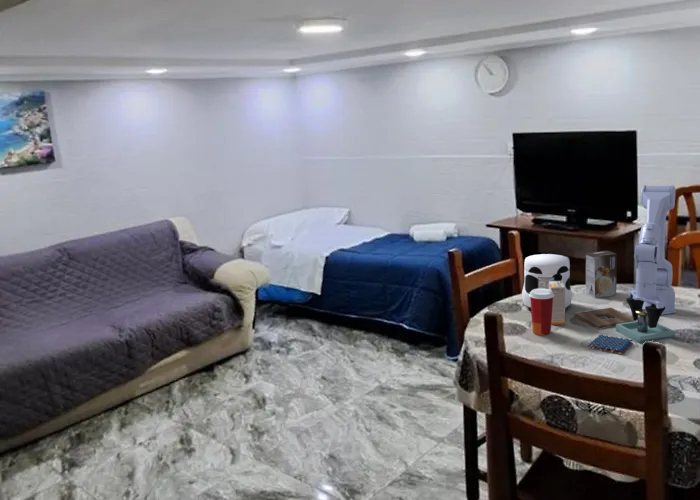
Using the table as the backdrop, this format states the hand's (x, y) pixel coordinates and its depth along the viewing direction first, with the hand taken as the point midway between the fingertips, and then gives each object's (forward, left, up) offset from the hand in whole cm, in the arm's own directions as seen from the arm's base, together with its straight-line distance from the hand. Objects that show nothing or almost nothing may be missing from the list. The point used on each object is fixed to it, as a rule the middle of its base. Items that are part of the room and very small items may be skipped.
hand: (644, 323), depth 204 cm
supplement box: (+18, -21, -4) cm, 28 cm away
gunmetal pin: (0, -1, -3) cm, 3 cm away
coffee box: (-11, -40, -4) cm, 42 cm away
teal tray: (0, 0, -3) cm, 3 cm away
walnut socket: (+3, -16, -3) cm, 17 cm away
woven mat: (+15, +5, -4) cm, 16 cm away
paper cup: (+28, -13, -4) cm, 31 cm away
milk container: (+14, -35, -4) cm, 38 cm away
